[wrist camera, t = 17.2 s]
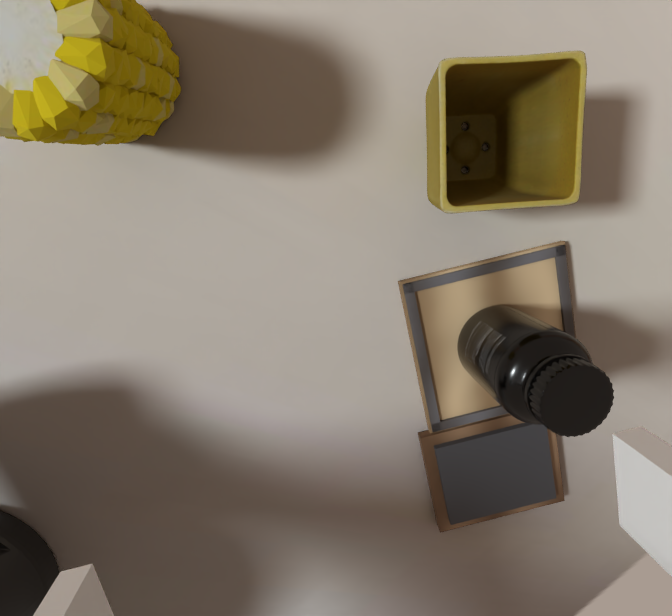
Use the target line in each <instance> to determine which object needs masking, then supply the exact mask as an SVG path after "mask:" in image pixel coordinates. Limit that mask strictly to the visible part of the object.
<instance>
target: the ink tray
mask: <svg viewBox="0 0 672 616" xmlns="http://www.w3.org/2000/svg"><path fill="white" fill-rule="evenodd" d="M521 423H525V422H522V421H520V420H518V419H516V418H515V417H513V416H512V415H510V414H505V415H501V416H497V417H493V418H489V419H485V420H481V421H477V422H473V423H469V424H465V425H461V426H457V427H453V428H449V429H446V430H442V431H438V432H434V433H430V432H429V430H427V431H423V432H419V433H418V436H419V441H420V446H421V450H422V455H423V460H424V465H425V469H426V474H427V479H428V483H429V488H430V493H431V498H432V502H433V507H434V512H435V516H436V521H437V525H438V528H439V530H440V532H444V531H447V530H451V529H455V528H459V527H463V526H467V525H471V524H475V523H479V522H483V521H487V520H490V519H494V518H498V517H502V516H506V515H510V514H514V513H518V512H522V511H526V510H529V509H533V508H537V507H541V506H545V505H549V504H553V503H557V502H561V501H565V500H564V493H563V485H562V477H561V470H560V462H559V454H558V446H557V439H556V433H553V432H552V431H551V430H549V429H547V432H548V439H549V447H550V454H551V462H552V469H553V476H554V484H555V491H556V498H555V499H551V500H547V501H544V502H540V503H536V504H532V505H528V506H524V507H520V508H516V509H512V510H508V511H504V512H501V513H497V514H493V515H489V516H485V517H481V518H477V519H473V520H469V521H465V522H461V523H458V524H454V525H451V524H450V522H449V519H448V514H447V509H446V504H445V499H444V494H443V489H442V484H441V479H440V474H439V470H438V465H437V460H436V455H435V450H434V445H438V444H441V443H445V442H449V441H453V440H457V439H461V438H465V437H469V436H473V435H477V434H481V433H485V432H489V431H493V430H497V429H501V428H505V427H509V426H513V425H517V424H521Z"/></svg>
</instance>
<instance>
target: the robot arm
mask: <svg viewBox="0 0 672 616" xmlns="http://www.w3.org/2000/svg"><path fill="white" fill-rule="evenodd" d="M613 446H614V459H615V472H616V485H617V498H618V511H619V524H620V526H621V527H622V528H623V529H624V530H625V531H626V532H627V533H628V534H629V535H630V536H631V537H632V538H633V539H634V540H635V541H636V542H637V543H638V544H639V545H640V546H641V547H642V548H643V549H644V550H645V551H646V552H647V553H648V554H649V555H650V556H651V557H652V558H653V559H654V560H655V561H656V562H657V563H658V564H659V565H660V566H661V567H662V568H663V569H664V570H665V571H666V572H667V573H668V574H670V576H671V577H672V446H671V445H670V444H668V443H667V442H665V441H664V440H662V439H660V438H659V437H657V436H656V435H654V434H653V433H651V432H650V431H648V430H647V429H645V428H643V427H642V426H640V427H636V428H632V429H628V430H624V431H620V432H616V433H613ZM0 616H114V614H113V612H112V610H111V607H110V605H109V602H108V600H107V597H106V595H105V593H104V590H103V588H102V585H101V583H100V581H99V578H98V576H97V573H96V571H95V569H94V566H93V564H89V565H85V566H81V567H77V568H73V569H69V570H65V571H61V572H60V573H59V572H58V568H57V564H56V561H55V559H54V556H53V555H52V553H51V551H50V549H49V548H48V546H47V545H46V543H45V542H44V541H43V540H42V538H41V537H40V536H39V535H38V534H37V533H36V532H35V531H33V530H32V529H31V528H30V527H29V526H27V525H26V524H24V523H23V522H21V521H20V520H18V519H16V518H15V517H13V516H11V515H9V514H6V513H4V512H1V511H0Z"/></svg>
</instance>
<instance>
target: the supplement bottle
mask: <svg viewBox="0 0 672 616" xmlns="http://www.w3.org/2000/svg"><path fill="white" fill-rule="evenodd" d="M457 351H458V356H459V360H460V362H461V364H462V366H463V367H464V369H465V370H466V371H467V372H468V373H469V374H470V375H471V377H472V378H473V379H474V380H475V381H476V382H478V383H479V384H480V385H481V386H482V387H483V388H484V389H485V390H486V391H487V392H488V393H489V394H490V395H491V396H492V397H493V398H494V399H495V400H496V401H497V402H498V403H499V404H500V405H501V406H502V407H503V408H504V409H505V410H506V411H507V412H508V413H509V414H510V415H512V416H513V417H515V418H516V419H518V420H520V421H522V422H525V423H529V424H535V425H544V426H545V427H546V428H547V429H549V430H551V431H552V432H553V433H557V434H559V435H561V436H564V435H565V436H567V437H569V436H574V437H575V436H578V435H583V434H585V433H589V432H590V431H591V430H593V429H596V427H597V426H598V425H600V424H601V423H602V421H603V420H604V419H605V418H606V417H607V414H608V413H609V412H610V408H611V406H612V405H613V402H612V401H613V399H614V396H613V392H614V390H613V389H612V383H611V382H610V379H609V377H607V376H606V374H605V372H603V371H602V370H600V369H599V368H598V367H596V366H595V365H593V363H592V360H591V357H590V355H589V353H588V351H587V349H586V348H585V347H584V346H583V344H582V343H581V342H580V341H578V340H577V339H576V338H574V337H573V336H571V335H569V334H568V333H566V332H564V331H562V330H560V329H558V328H555V327H553V326H551V325H549V324H547V323H545V322H543V321H541V320H539V319H537V318H535V317H533V316H531V315H529V314H527V313H525V312H523V311H521V310H518V309H516V308H513V307H510V306H505V305H495V306H490V307H487V308H484V309H482V310H480V311H478V312H476V313H475V314H474V315H472V316H471V317H470V318H469V319H468V320H467V322H466V323H465V324H464V326H463V328H462V329H461V332H460V334H459V338H458V343H457Z"/></svg>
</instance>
